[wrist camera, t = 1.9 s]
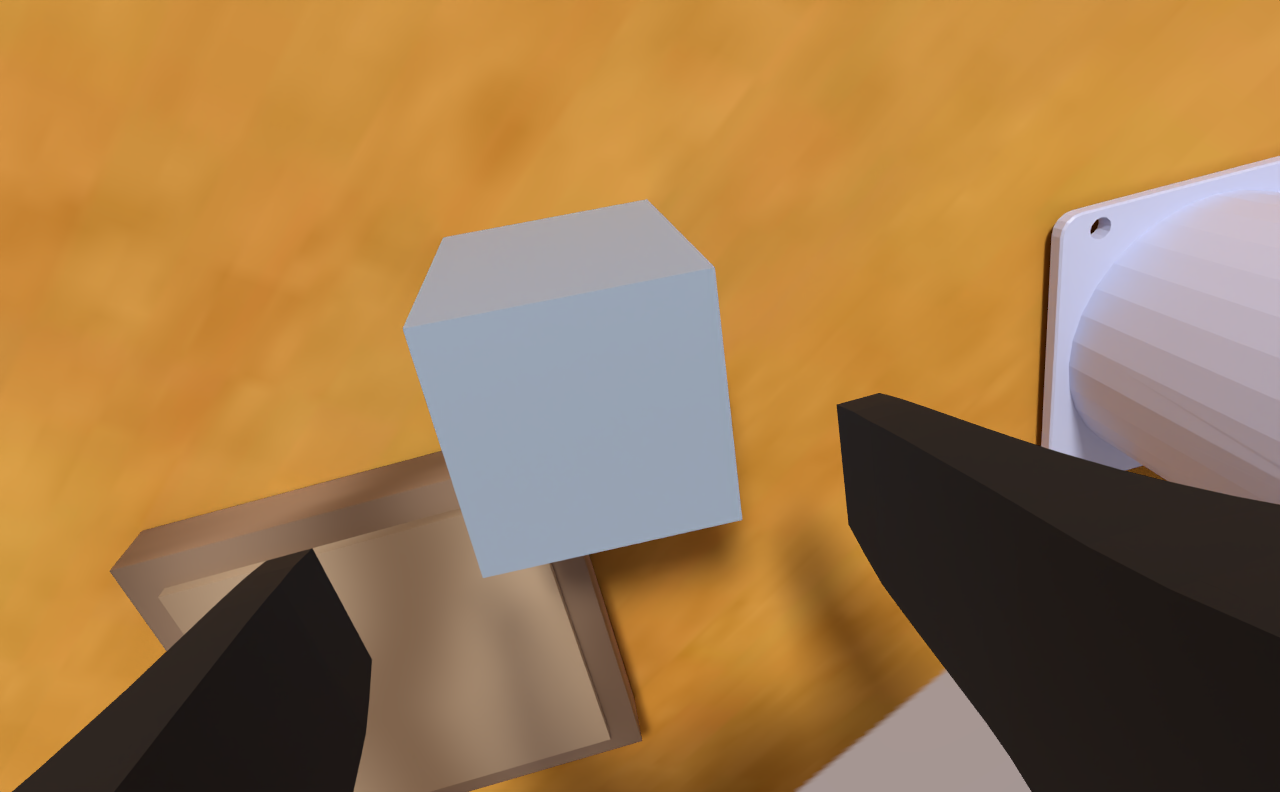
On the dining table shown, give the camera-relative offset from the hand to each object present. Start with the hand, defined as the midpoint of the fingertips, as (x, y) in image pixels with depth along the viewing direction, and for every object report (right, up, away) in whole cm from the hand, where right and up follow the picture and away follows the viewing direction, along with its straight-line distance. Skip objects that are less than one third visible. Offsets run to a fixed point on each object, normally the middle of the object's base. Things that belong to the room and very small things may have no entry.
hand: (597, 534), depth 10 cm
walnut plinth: (-5, -4, +10) cm, 12 cm away
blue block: (-1, +4, +7) cm, 8 cm away
